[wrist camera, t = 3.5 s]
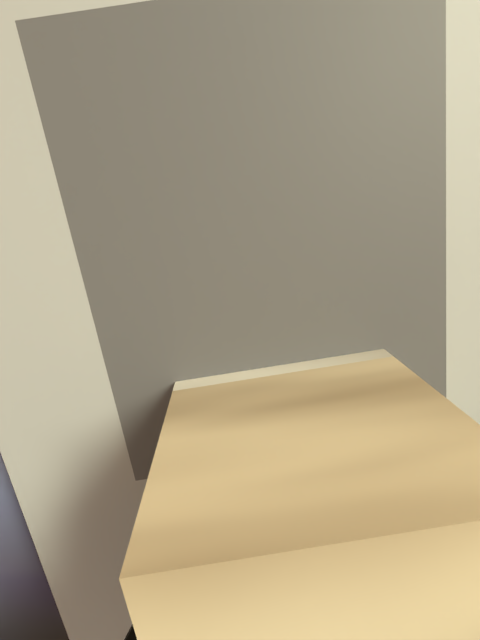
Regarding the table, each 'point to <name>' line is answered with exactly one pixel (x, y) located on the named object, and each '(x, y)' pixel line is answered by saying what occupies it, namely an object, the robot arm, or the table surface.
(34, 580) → the table surface
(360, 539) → the block
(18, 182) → the board
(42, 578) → the table surface
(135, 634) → the robot arm
